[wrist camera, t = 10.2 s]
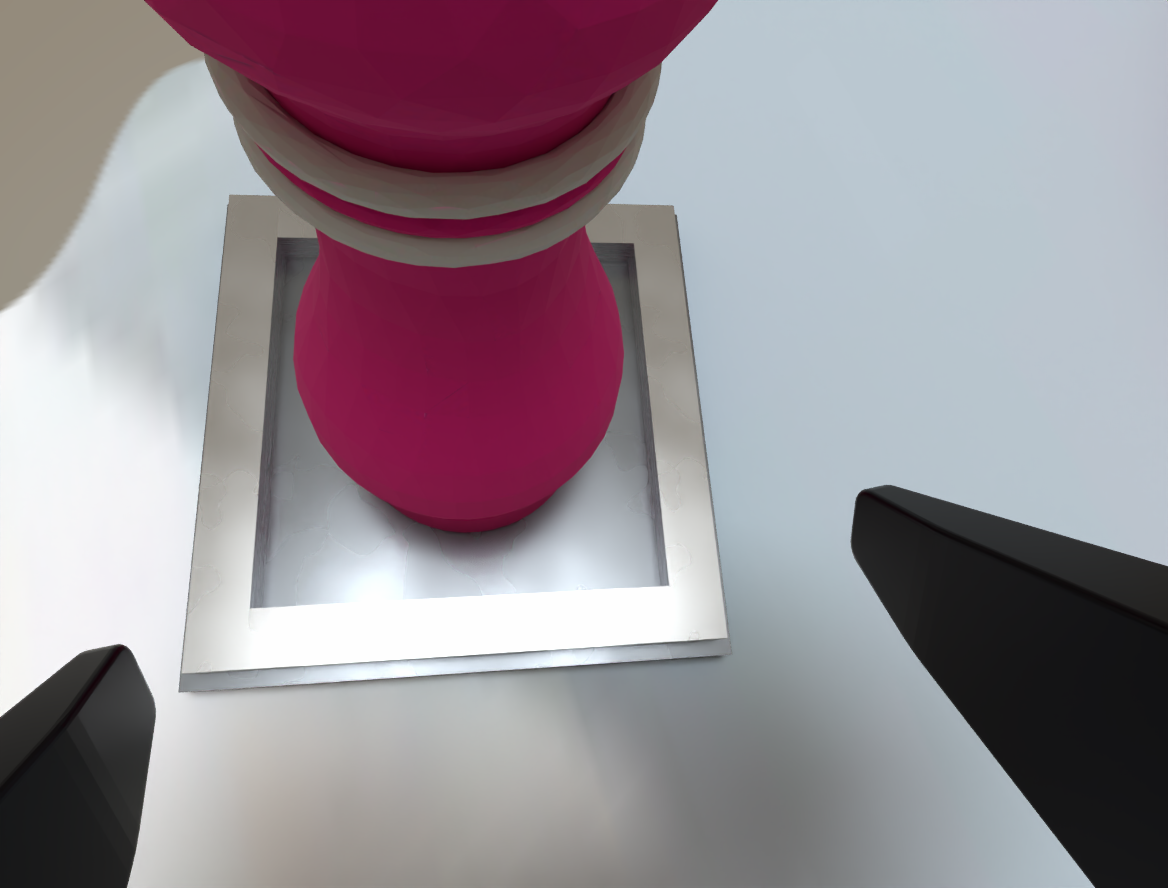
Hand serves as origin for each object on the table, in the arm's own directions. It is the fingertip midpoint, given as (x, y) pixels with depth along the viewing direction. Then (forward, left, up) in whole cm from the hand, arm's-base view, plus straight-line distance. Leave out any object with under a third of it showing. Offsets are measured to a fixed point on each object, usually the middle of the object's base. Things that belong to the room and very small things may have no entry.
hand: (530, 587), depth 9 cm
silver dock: (+6, +1, -11) cm, 13 cm away
